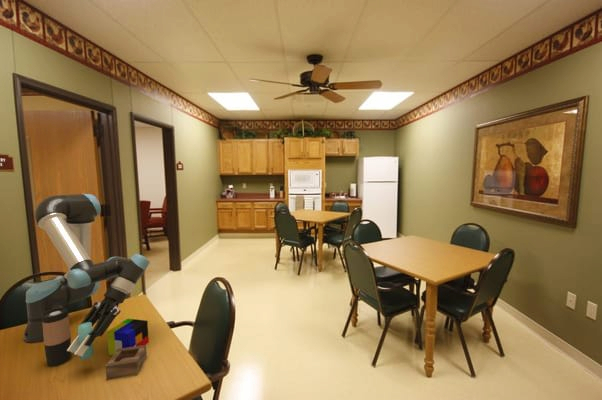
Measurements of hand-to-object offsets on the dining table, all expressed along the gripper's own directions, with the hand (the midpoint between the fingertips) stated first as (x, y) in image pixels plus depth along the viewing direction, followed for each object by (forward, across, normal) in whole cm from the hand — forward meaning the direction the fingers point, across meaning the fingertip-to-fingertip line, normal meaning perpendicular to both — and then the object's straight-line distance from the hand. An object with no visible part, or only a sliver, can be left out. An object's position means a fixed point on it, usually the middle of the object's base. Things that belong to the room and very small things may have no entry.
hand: (74, 353), depth 95 cm
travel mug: (+5, +17, -9) cm, 19 cm away
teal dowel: (0, 0, -5) cm, 5 cm away
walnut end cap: (-1, -12, -14) cm, 19 cm away
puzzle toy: (-6, -1, -20) cm, 21 cm away
